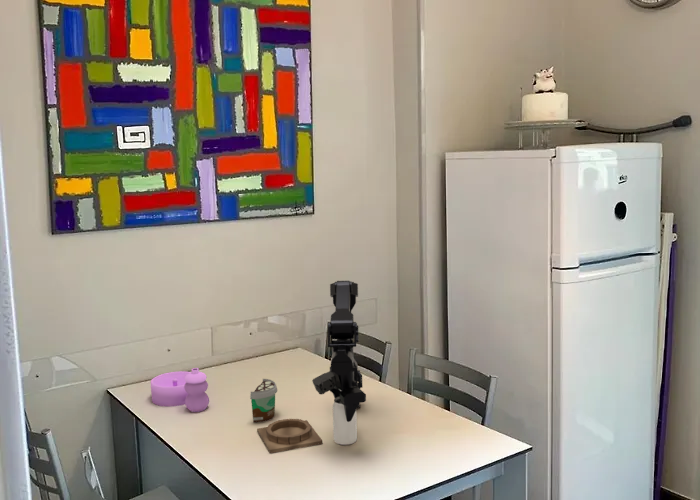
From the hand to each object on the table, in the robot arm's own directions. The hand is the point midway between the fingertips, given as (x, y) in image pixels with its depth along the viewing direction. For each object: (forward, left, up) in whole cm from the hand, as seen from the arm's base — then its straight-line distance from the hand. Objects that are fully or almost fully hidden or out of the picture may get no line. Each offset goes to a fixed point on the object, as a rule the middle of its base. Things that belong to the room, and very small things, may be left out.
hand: (344, 416), depth 196 cm
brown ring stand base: (+14, -8, -7) cm, 18 cm away
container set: (+38, -48, -7) cm, 62 cm away
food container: (+16, -25, -7) cm, 31 cm away
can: (0, 0, -7) cm, 7 cm away
